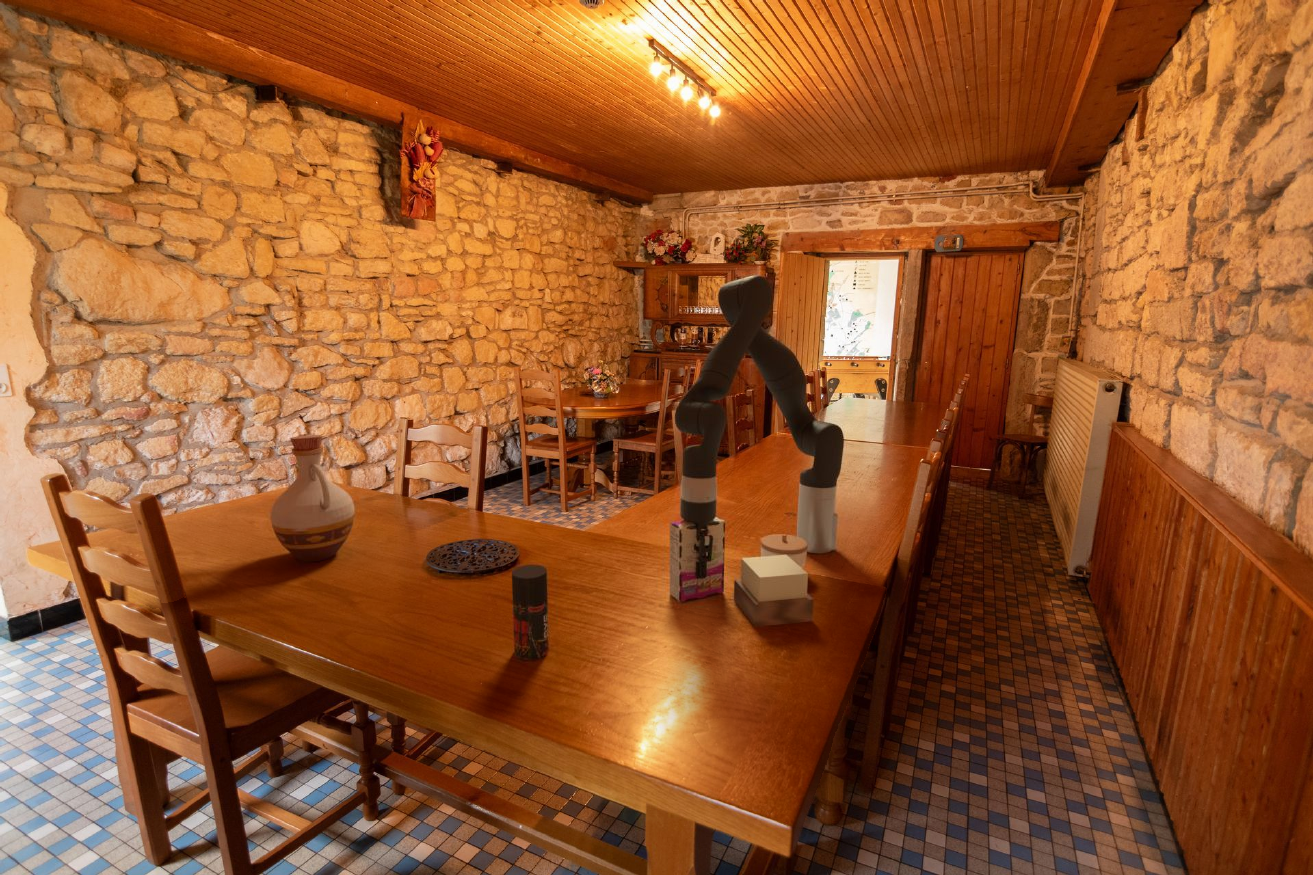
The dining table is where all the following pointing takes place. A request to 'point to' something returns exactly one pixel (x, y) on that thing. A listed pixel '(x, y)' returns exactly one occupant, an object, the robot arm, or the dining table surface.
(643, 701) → the dining table surface
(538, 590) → the deodorant
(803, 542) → the lidded jar
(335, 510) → the jug
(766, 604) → the walnut slab
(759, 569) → the cream square block
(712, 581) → the candy bar box
